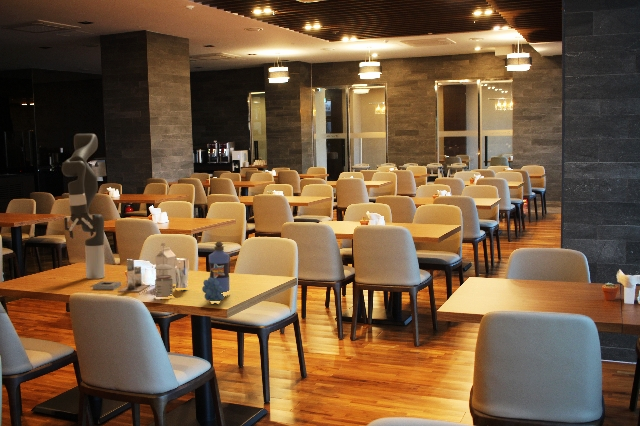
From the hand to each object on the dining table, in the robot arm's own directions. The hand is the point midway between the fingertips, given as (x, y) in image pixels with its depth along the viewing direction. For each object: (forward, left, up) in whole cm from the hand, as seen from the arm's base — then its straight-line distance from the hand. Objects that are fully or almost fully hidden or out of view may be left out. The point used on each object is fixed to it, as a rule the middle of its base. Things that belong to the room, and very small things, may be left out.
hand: (82, 237), depth 337 cm
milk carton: (-12, +37, -26) cm, 46 cm away
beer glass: (-4, +47, -26) cm, 53 cm away
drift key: (-8, +3, -26) cm, 27 cm away
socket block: (-2, +11, -26) cm, 28 cm away
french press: (+12, +43, -26) cm, 51 cm away
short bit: (-6, +25, -24) cm, 35 cm away
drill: (+3, +24, -24) cm, 34 cm away
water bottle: (+7, +67, -26) cm, 72 cm away
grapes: (+27, +68, -26) cm, 78 cm away
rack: (-1, +25, -26) cm, 36 cm away
